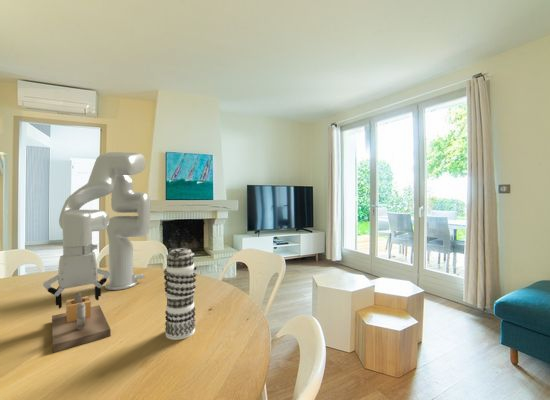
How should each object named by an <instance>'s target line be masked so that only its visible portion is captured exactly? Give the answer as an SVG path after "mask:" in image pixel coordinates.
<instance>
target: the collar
mask: <svg viewBox="0 0 550 400" xmlns="http://www.w3.org/2000/svg"><path fill="white" fill-rule="evenodd" d="M80 303H84V304H85V318H89V317H91V307H92V305H91V303H92V302H91V299H90V296H89V295H88V296H82V302H80ZM78 304H79V303H75V304H74V298H72V299H67V300H66V301H65V313H66V318H67V323H68V322H72V321H76V320H77V305H78Z"/></svg>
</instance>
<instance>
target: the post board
mask: <svg viewBox="0 0 550 400" xmlns="http://www.w3.org/2000/svg"><path fill="white" fill-rule="evenodd" d="M82 297H83V294H82V293H79V292H78V293H76V294H75V295H74V297H73V299H74V304H75V303H79V304H78V305H77V320H76V321H72V322H68V323H67V318H66V312H63V313H58V314H54V315H51V334H52V353H56V352H60V351H63V350H67V349H70V348H74V347H77V346H79V345H80V346H81V345H84V344H88V343H91V342H95V341H97V340H101V339H104V338H108V337H111V336H112V335H111V334H112V333H111V327H110V325H109V323H108V321H107V319H106V316H105V314H104V311H103V310H102V307H101V305H94V306H91V317H89V318H85V304H84V303H80V302H82Z"/></svg>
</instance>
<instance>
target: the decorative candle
mask: <svg viewBox="0 0 550 400" xmlns="http://www.w3.org/2000/svg"><path fill="white" fill-rule="evenodd" d="M194 256H195V253H194V252H193V251H192V249H190V248H188V247H180V248H173V249H171V250H170V251H169V253H168V254H166V255H165V257H166V265H165V266H166V267H165V269H164V270H163V274H164V276H163V278H164V281H165V282H164V292H165V298H166V307H165V308H166V310H165V312H164V313H165V323H164V326H165V329H164V330H165V337H166V338H167V339H169V340H172V341H173V340H175V341H177V340H184V339H187V338H189V337H191V336H193V334H194V333H195V331H196V328H195V327H196V312H195V311H196V308H195V301H194V298H195V297H194V295H195V293H196V290H195V289H196V287H197V285H196V284H194V283H195V282H196V281H197V279H196V276H197V273H195V272H194V271H196V270H197V266H195V263H194V259H195V258H194Z"/></svg>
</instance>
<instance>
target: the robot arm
mask: <svg viewBox="0 0 550 400" xmlns="http://www.w3.org/2000/svg"><path fill="white" fill-rule="evenodd" d="M145 168H146V158H145V156H144V155H143V154H142V153H140V152H122V151H121V152H119V151H112V152H111V151H109V152H105V153H102V154H100V155H98V156H97V157H96V159H95V161H94V164H93V168H92V169H91V172H90V175H89V178H88V181H87V183H86V184H84V185H82V186H81V187H79V188H78V189H76V191H74V192H73V193H71V194H70V195H69V196H68V197H67V199H66V200H65V202H64V204H63V206H62V207H61V211H60V215H59V219H58V223H59V224H58V225H59V226H60V229H62V254H63V255H60V256H59V259H58V260H59V261H58V267H57V269H58V270H57V271H58V273H57V274H56V275H54V276H53V277H51V278H49V279H48V280H46V281H44V282H43V283H42V285H43V287H44V288H45V289H46V291H47V292H48V293H50V294H51V295H53V296H54V297H55V306H56V307H57V306H58V309H59V310H60V309H62V307H63V305H62V303H63V302H62V301H63V299H62V292H63V291H64V290H65V289H71V288H76V287H83V286H87V285H92V284H93V285H94V298H95V300H96V301H99V297H101V295H102V293H101V291H102V286H103V285H104V284H105V283H106V282H107V280H108V279H109V280H108V282H107V283H106V284H105V285H104V288H105V289H106V290H108V291H109V290H110V291H117V290H118V291H120V290H126V289H130V288H132V287H134V286H136V285H137V284H138V280H139V279H140V280H141V279H145V277H146V275H145V273H136V274H135V273H134V246H133V242H131V240H130V239H129V238H137V237H139V238H141V237H146V236H147V235H148V234H149V233H150V228H151V227H150V226H151V198H150V196H149V194H148V193H146V192H143V191H141V192H139V191H138V192H137V191H134V182H133V179H132V177H131V176H134V175H138V174H139V173H142V172H143V171H144V169H145ZM110 194H111V195H110ZM108 195H110V196H111V198H110V201H111V202H110V205H111V206H110V207H111V210H112V211H113V212H114V213H118V214H120V213H121V214H137V215H116V216H112V217H110V215H109V214H108V213H107V212H106V211H105V210H103V209H81V208H82V207H83V206H85V204H86V205H87V203H89V202H92V201H94V200H97V199H100V198H103V197H106V196H108ZM105 229H106V233H107V238H108V239H107V240H108V271H107V270H104V269H100V268H98V263H97V258H96V253H95V252H94V250H98V245H97V244H93V233H92V232H100V231H103V230H105ZM98 274H99V275H103V276H102V278H101V279H100V280H98V279H99V278H98V277H99V275H98ZM55 282H58V286H57V288H54V287H53V286H52V284H54V283H55Z"/></svg>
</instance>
